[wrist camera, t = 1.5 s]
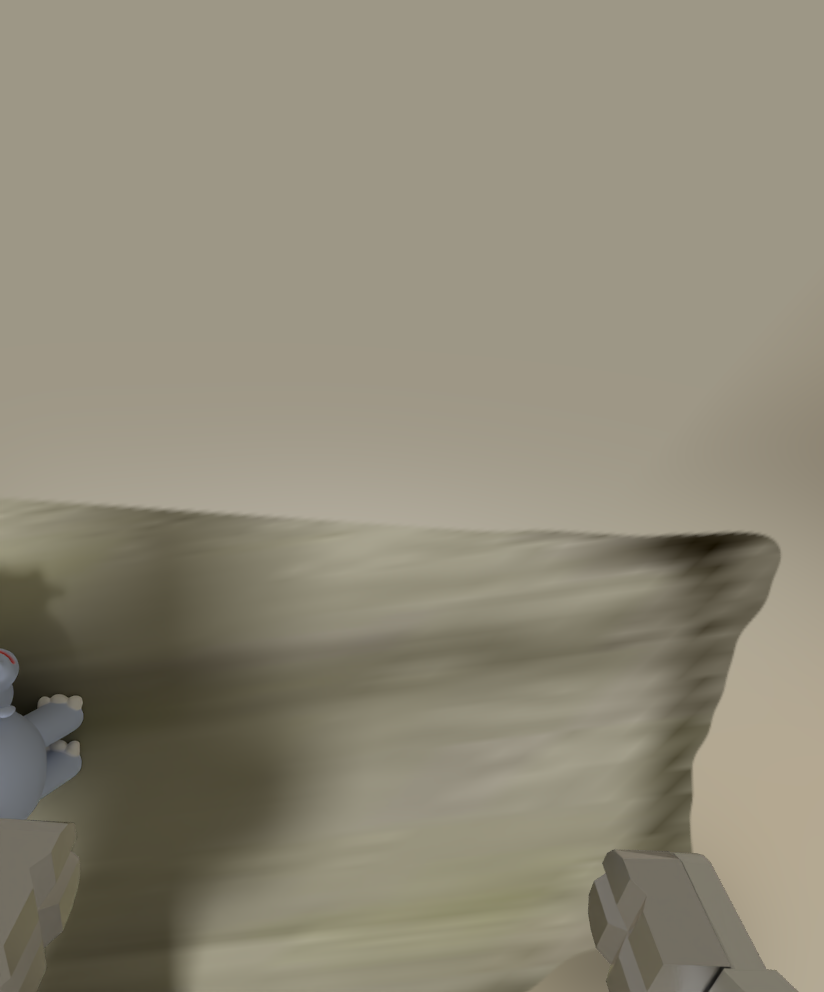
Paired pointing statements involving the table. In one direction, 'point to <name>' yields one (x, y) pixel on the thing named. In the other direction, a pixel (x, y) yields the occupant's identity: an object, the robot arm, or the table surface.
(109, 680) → the table surface
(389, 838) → the table surface
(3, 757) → the hippopotamus toy
